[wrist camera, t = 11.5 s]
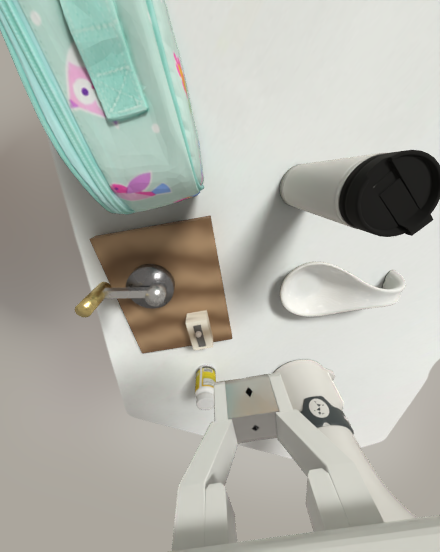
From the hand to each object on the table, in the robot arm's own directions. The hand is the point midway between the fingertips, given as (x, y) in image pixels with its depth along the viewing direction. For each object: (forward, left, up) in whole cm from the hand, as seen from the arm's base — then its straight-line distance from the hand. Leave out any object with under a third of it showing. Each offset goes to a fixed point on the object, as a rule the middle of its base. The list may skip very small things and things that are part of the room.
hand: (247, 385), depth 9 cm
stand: (-10, +11, -29) cm, 33 cm away
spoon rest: (-14, -21, -30) cm, 39 cm away
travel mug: (+5, -14, -29) cm, 33 cm away
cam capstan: (-6, +16, -27) cm, 32 cm away
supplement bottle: (-34, +9, -29) cm, 46 cm away
